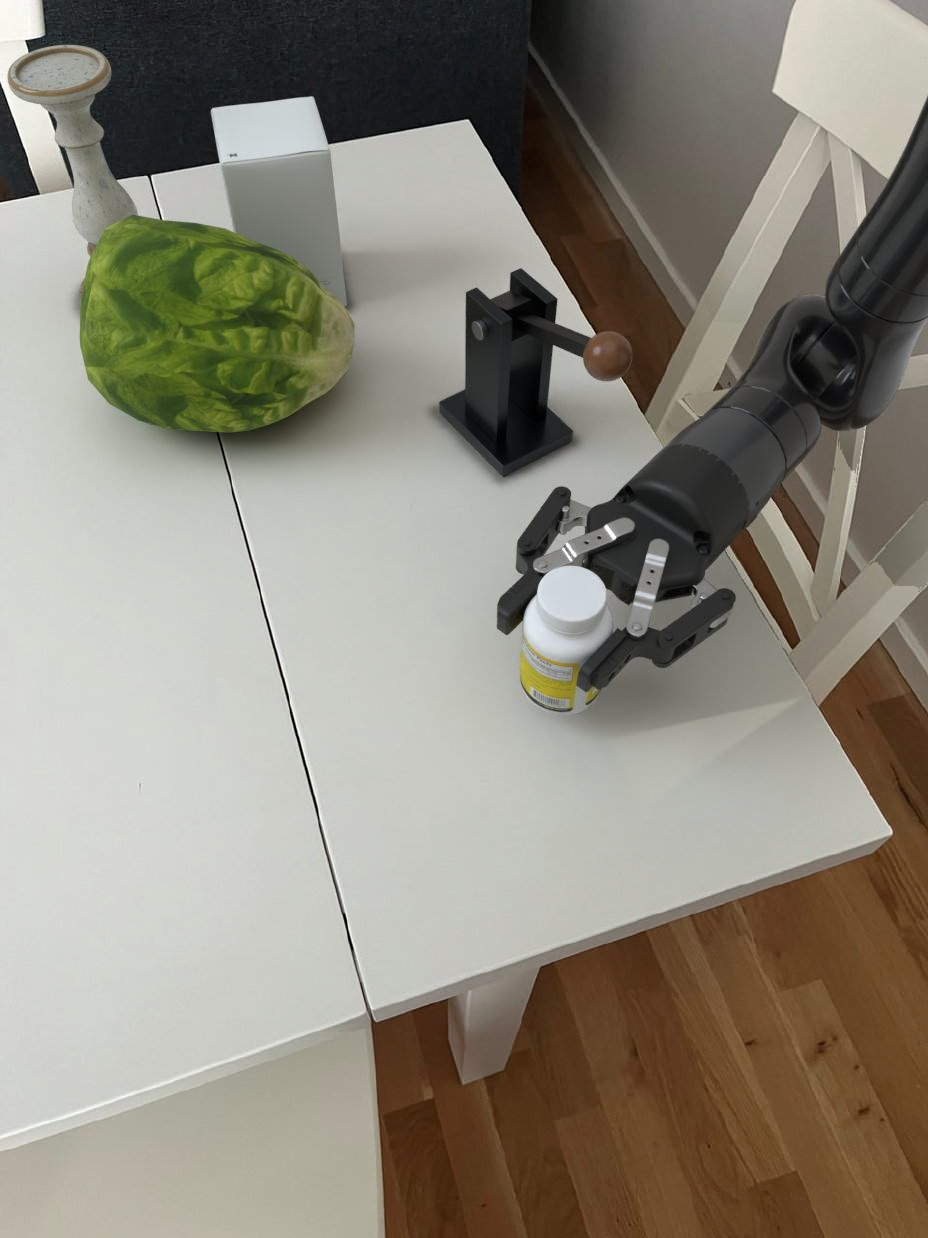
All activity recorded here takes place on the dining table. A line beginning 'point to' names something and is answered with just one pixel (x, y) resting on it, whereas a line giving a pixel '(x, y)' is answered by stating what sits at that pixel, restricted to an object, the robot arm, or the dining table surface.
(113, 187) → the candle holder
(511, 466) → the bracket
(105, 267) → the lettuce
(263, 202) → the rectangular carton
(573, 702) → the supplement bottle
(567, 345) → the lever
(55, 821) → the dining table surface
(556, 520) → the robot arm
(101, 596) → the dining table surface
